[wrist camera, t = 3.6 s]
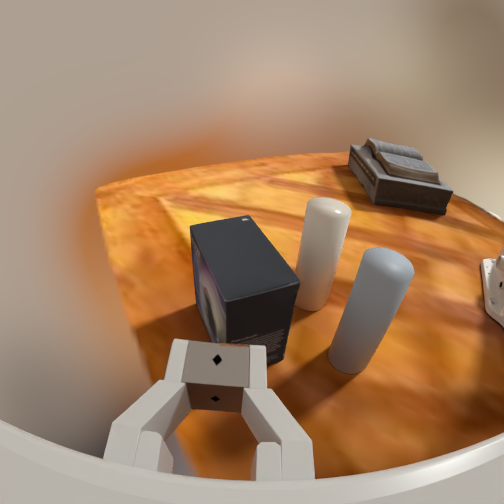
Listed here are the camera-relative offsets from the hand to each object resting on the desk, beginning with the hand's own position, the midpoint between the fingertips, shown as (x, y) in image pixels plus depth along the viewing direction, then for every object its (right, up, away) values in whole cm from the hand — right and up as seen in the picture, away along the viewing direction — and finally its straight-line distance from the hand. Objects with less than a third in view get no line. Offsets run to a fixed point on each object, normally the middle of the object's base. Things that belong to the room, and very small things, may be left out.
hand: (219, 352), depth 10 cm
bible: (+36, +19, +59) cm, 72 cm away
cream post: (+8, -2, +26) cm, 28 cm away
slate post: (+11, -7, +19) cm, 23 cm away
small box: (-1, -5, +22) cm, 22 cm away
